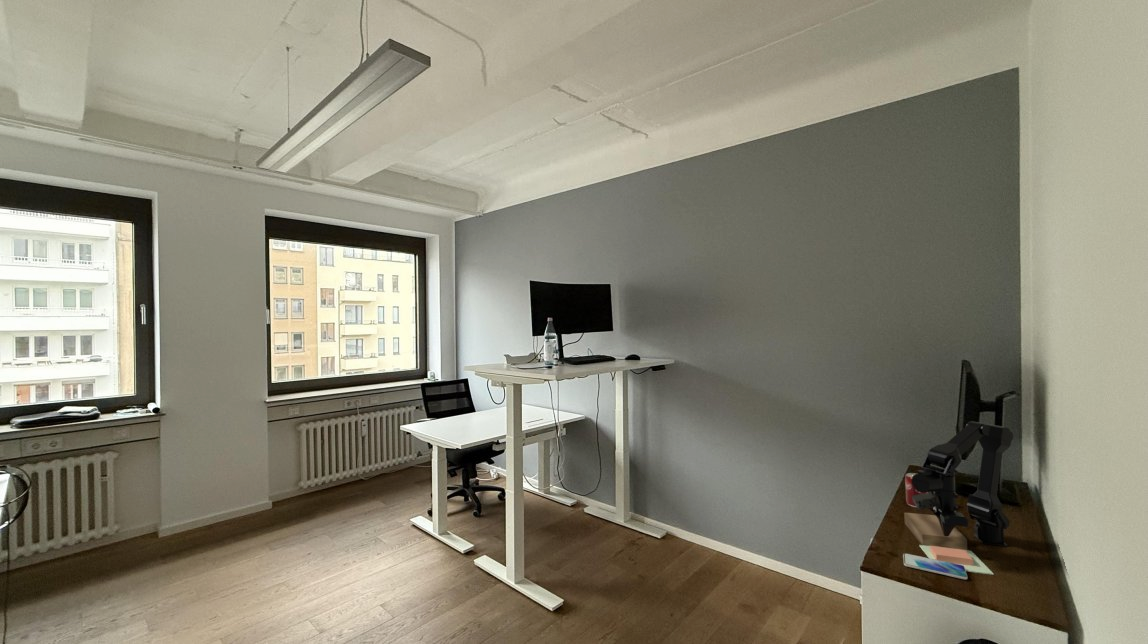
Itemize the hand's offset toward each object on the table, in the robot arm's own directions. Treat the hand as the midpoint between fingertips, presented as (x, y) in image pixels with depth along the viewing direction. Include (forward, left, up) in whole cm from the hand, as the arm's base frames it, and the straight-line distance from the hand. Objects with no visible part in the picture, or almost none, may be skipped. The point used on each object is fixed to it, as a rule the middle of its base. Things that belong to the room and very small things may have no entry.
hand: (946, 535), depth 146 cm
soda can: (-4, -40, -5) cm, 40 cm away
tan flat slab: (0, -11, -5) cm, 12 cm away
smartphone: (+8, +13, -5) cm, 16 cm away
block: (+1, +6, -3) cm, 6 cm away
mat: (0, +5, -5) cm, 7 cm away
